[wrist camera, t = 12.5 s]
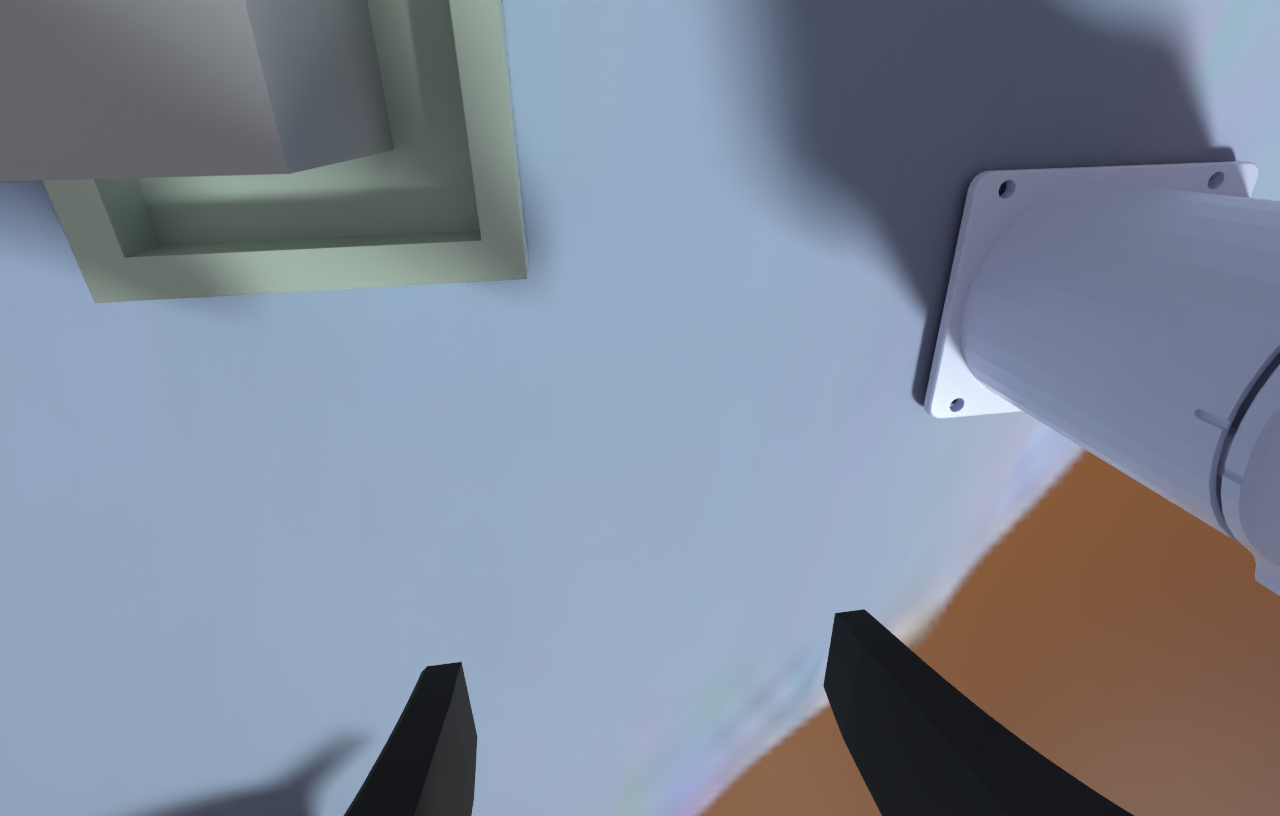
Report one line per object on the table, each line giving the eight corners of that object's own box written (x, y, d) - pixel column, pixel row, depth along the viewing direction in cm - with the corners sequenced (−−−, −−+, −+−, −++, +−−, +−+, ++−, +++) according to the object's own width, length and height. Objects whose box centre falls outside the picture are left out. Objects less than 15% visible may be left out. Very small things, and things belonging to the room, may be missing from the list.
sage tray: (479, -214, 13) (469, -268, 11) (528, 261, 17) (527, 278, 15) (-56, -237, 11) (-165, -302, 10) (144, 282, 16) (94, 302, 14)
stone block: (358, -48, 13) (195, -196, 7) (394, 150, 15) (288, 173, 9) (160, -52, 13) (-207, -214, 6) (221, 154, 14) (-22, 182, 8)
